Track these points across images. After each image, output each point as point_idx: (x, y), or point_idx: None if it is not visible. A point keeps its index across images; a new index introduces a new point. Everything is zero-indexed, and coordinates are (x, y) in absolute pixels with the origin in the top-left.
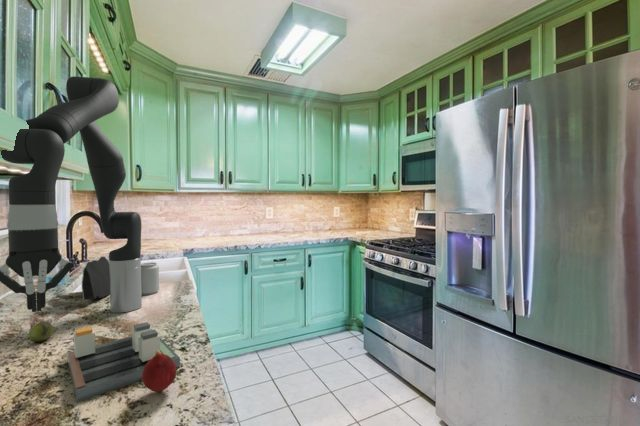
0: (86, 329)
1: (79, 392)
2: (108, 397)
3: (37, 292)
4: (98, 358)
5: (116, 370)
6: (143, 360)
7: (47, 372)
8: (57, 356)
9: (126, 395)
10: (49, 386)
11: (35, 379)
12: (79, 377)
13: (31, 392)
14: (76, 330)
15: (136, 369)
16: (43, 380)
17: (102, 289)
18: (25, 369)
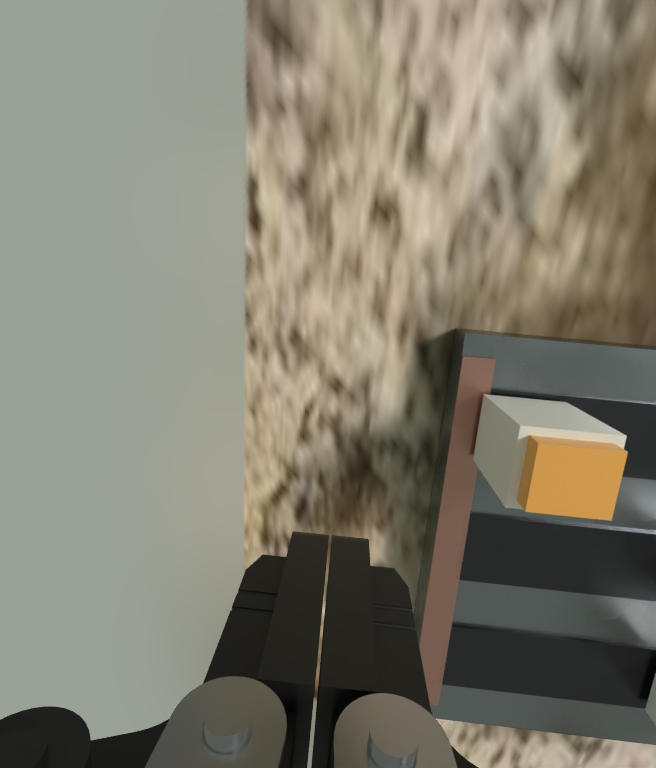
0: (587, 491)
1: None
2: (477, 723)
3: (329, 744)
4: (542, 526)
5: (549, 686)
6: (652, 715)
7: (373, 378)
8: (436, 213)
9: (518, 751)
10: (360, 512)
11: (331, 410)
12: (438, 639)
13: (310, 511)
14: (538, 460)
15: (603, 722)
16: (351, 444)
17: None
18: (310, 267)
